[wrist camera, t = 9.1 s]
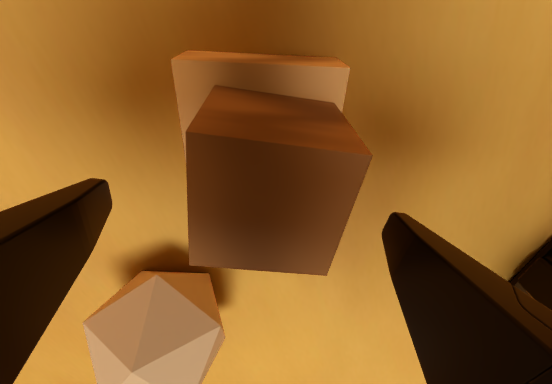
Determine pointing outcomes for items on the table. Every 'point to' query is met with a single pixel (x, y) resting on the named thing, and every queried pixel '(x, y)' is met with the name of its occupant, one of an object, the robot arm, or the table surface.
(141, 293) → the die
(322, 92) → the maple base
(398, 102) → the table surface
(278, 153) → the walnut cube
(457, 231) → the table surface
